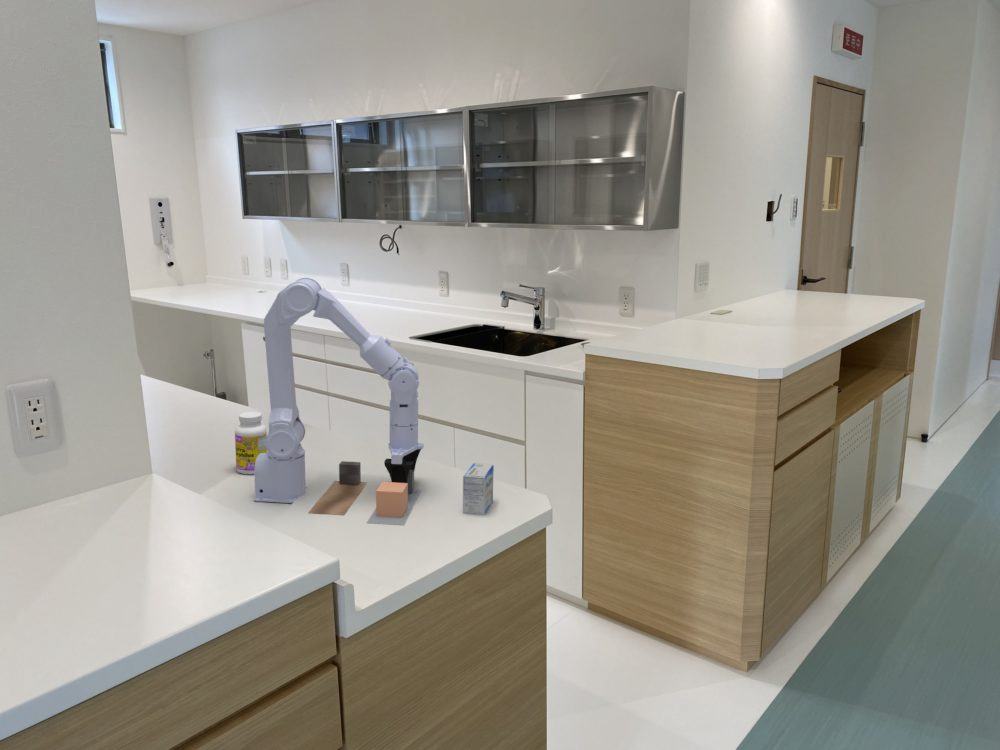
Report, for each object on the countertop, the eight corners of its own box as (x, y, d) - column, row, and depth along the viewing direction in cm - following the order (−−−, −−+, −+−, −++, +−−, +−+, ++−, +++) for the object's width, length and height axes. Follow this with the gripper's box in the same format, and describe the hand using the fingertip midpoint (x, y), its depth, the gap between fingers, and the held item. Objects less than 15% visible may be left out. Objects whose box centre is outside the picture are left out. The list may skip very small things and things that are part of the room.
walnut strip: (307, 517, 142) (307, 491, 141) (335, 484, 160) (334, 460, 159) (344, 519, 142) (343, 493, 141) (367, 486, 160) (367, 462, 158)
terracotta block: (376, 516, 142) (376, 490, 141) (382, 506, 147) (382, 481, 146) (402, 517, 142) (402, 492, 141) (407, 507, 146) (407, 483, 145)
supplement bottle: (229, 472, 165) (227, 416, 163) (250, 463, 171) (248, 409, 169) (254, 477, 163) (252, 419, 160) (274, 468, 169) (272, 412, 166)
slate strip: (366, 527, 139) (366, 500, 138) (387, 492, 156) (387, 468, 155) (404, 529, 138) (404, 502, 137) (421, 494, 156) (421, 470, 155)
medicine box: (484, 520, 144) (485, 477, 142) (461, 517, 145) (462, 474, 143) (493, 505, 152) (494, 464, 150) (471, 502, 152) (472, 462, 151)
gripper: (416, 433, 145) (416, 500, 147) (429, 414, 159) (428, 475, 162) (380, 432, 145) (380, 498, 148) (396, 413, 159) (396, 474, 162)
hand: (403, 486), depth 155 cm, fingers open, 7 cm apart
